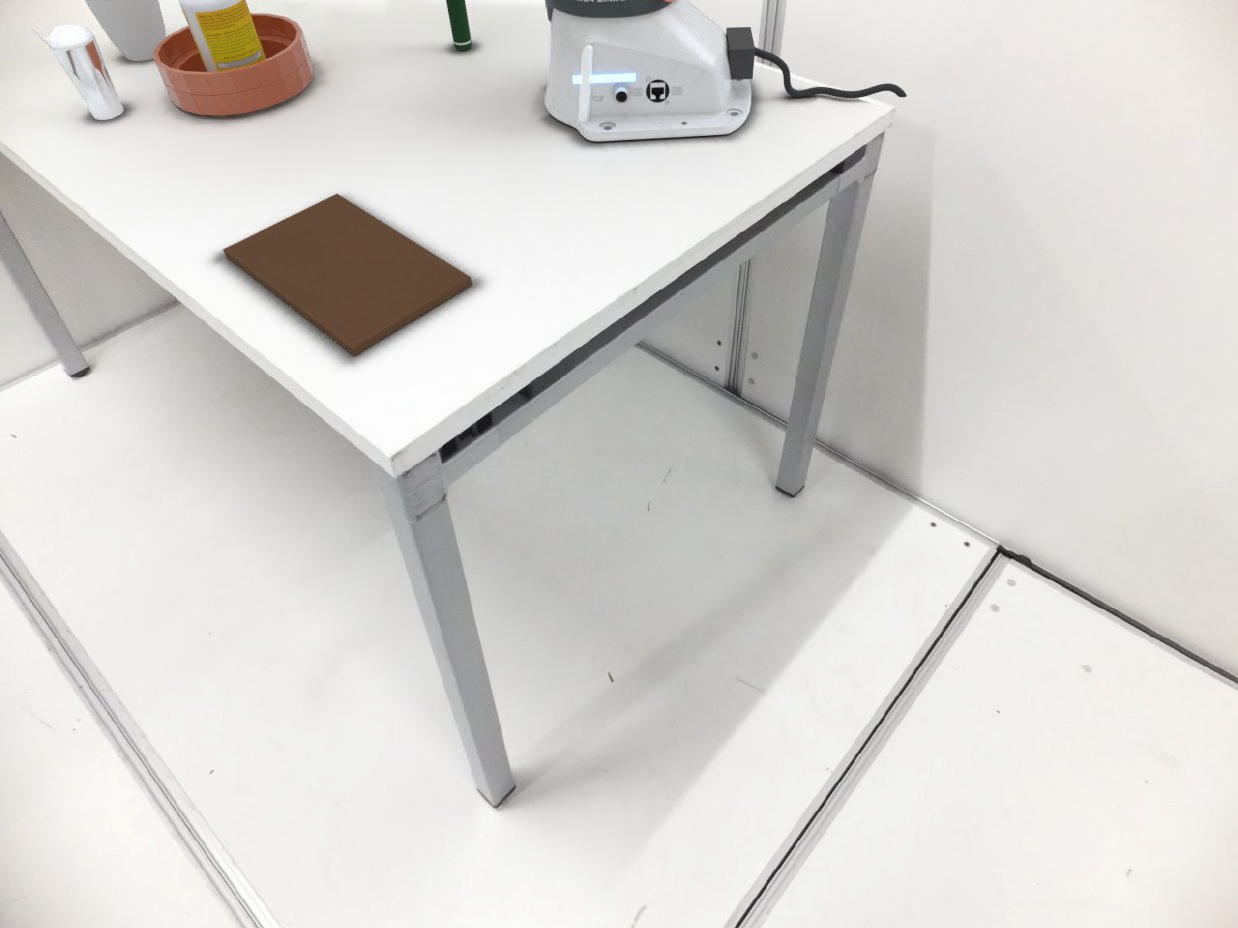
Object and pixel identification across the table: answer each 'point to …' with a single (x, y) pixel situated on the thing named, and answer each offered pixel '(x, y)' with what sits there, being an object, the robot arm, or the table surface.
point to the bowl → (237, 71)
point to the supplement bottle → (223, 33)
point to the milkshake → (85, 69)
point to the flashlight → (459, 24)
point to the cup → (131, 25)
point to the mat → (347, 272)
